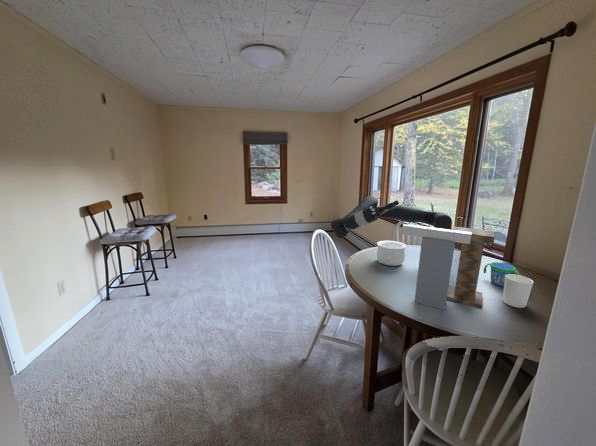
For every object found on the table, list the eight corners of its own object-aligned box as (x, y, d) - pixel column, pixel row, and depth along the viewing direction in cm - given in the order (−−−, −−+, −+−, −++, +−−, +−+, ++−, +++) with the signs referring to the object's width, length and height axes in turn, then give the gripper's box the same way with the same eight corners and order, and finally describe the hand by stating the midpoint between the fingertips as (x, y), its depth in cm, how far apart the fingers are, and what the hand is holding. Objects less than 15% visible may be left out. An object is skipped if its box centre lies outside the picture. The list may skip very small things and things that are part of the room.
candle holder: (494, 298, 124) (499, 274, 121) (514, 297, 125) (519, 273, 122) (513, 309, 114) (518, 283, 112) (534, 308, 115) (539, 283, 113)
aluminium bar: (401, 234, 119) (402, 225, 118) (403, 232, 123) (404, 223, 122) (469, 244, 105) (471, 234, 104) (470, 241, 109) (471, 232, 108)
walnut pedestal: (440, 297, 123) (450, 231, 116) (443, 286, 135) (452, 225, 128) (481, 308, 115) (494, 237, 108) (481, 295, 126) (493, 230, 119)
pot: (384, 255, 180) (385, 238, 178) (410, 261, 169) (412, 243, 167) (369, 264, 164) (370, 245, 162) (396, 271, 153) (398, 251, 150)
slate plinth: (414, 301, 120) (422, 238, 113) (417, 294, 126) (425, 234, 120) (444, 310, 113) (454, 243, 107) (446, 302, 120) (455, 238, 113)
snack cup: (522, 288, 134) (526, 269, 132) (511, 292, 130) (515, 273, 127) (489, 276, 148) (492, 259, 146) (477, 280, 143) (481, 262, 141)
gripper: (357, 211, 128) (388, 197, 119) (367, 207, 140) (396, 194, 130) (364, 225, 127) (395, 212, 118) (373, 220, 139) (403, 208, 130)
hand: (396, 203), depth 124 cm, fingers open, 8 cm apart
